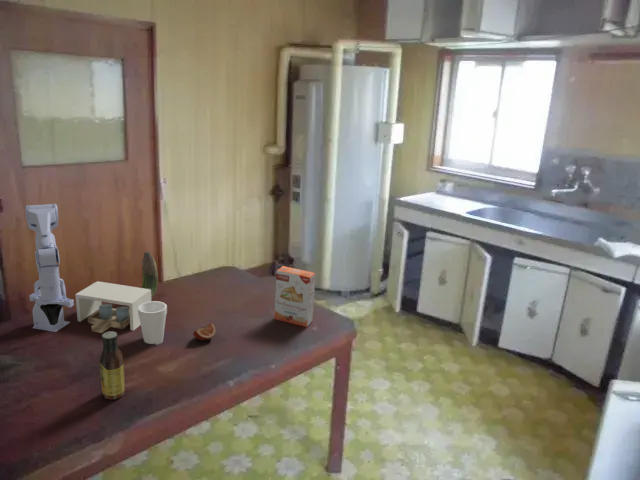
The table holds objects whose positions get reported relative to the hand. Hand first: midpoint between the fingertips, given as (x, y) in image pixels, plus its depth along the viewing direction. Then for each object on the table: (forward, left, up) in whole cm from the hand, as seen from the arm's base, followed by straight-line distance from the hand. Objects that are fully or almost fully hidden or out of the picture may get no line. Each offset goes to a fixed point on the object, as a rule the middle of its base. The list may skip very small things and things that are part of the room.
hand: (53, 323), depth 171 cm
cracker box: (+68, +47, -10) cm, 83 cm away
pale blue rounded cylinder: (+2, +25, -9) cm, 27 cm away
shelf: (+5, +26, -10) cm, 28 cm away
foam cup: (+26, +16, -10) cm, 32 cm away
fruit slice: (+42, +23, -10) cm, 49 cm away
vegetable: (+7, +48, -10) cm, 50 cm away
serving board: (+5, +22, -10) cm, 25 cm away
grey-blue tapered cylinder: (+9, +25, -9) cm, 28 cm away
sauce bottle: (+31, -16, -10) cm, 36 cm away
